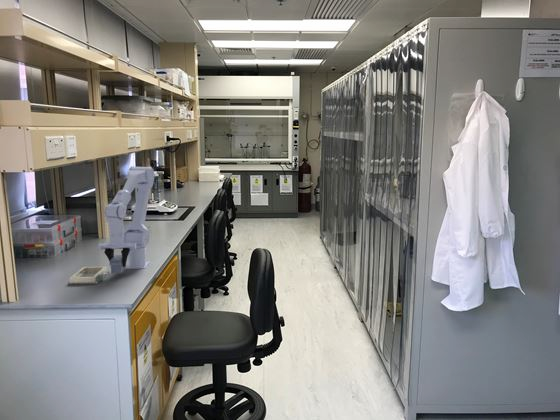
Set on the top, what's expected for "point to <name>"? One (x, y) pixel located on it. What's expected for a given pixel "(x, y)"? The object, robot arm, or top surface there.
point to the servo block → (117, 264)
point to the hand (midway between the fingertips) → (118, 266)
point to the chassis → (88, 275)
